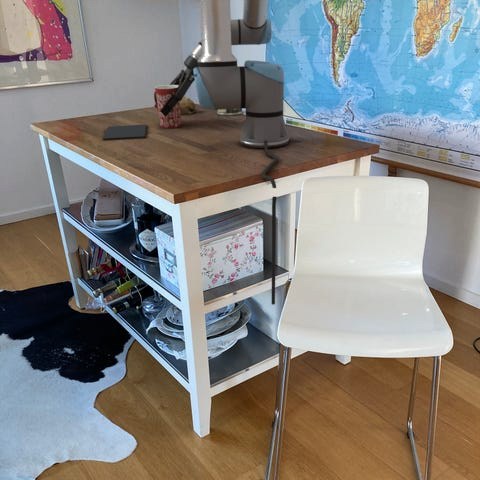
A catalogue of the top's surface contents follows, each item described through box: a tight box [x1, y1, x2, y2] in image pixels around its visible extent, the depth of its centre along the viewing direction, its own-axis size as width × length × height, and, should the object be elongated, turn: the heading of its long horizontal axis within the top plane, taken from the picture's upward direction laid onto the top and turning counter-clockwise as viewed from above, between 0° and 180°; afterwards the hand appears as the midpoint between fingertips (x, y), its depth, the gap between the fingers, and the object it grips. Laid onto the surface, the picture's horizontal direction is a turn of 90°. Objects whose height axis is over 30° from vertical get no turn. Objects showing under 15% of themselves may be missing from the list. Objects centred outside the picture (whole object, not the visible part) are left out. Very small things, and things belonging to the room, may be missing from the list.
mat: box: [102, 124, 148, 141], centre depth 182 cm, size 20×14×1 cm
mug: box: [153, 84, 182, 129], centre depth 188 cm, size 13×9×14 cm
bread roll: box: [180, 96, 197, 116], centre depth 212 cm, size 10×10×8 cm
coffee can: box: [216, 109, 243, 116], centre depth 206 cm, size 10×10×14 cm
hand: (159, 111), depth 188 cm, fingers closed on mug, 12 cm apart
